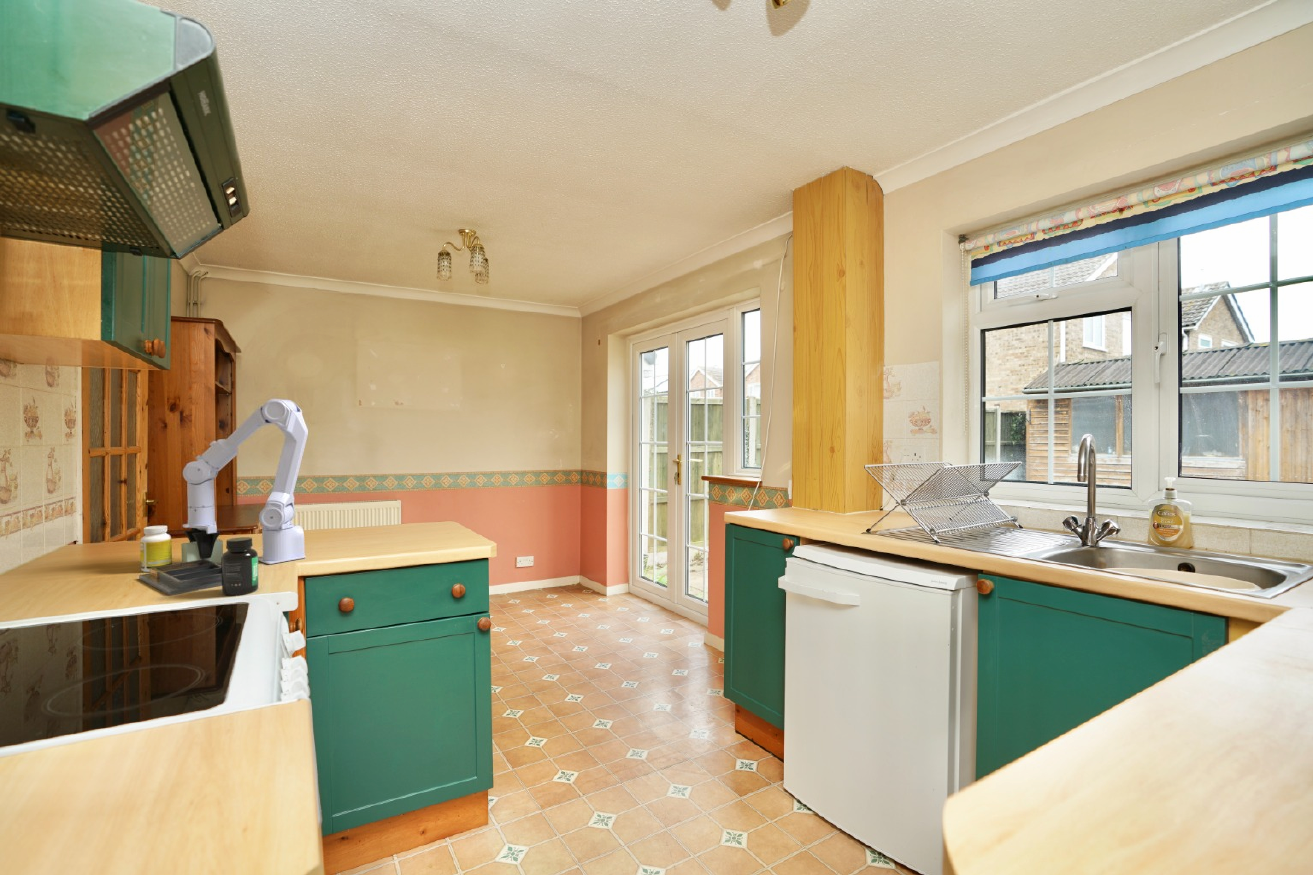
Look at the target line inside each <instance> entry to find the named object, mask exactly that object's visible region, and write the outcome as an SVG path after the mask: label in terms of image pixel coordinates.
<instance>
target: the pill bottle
mask: <svg viewBox="0 0 1313 875" xmlns="http://www.w3.org/2000/svg"><path fill="white" fill-rule="evenodd" d="M167 532H168V525H152V526H151V525H150V526H146V527H143V534H144V536H142V537H141V538H140V543H139V544H140V546H139V547H140V568H141V571H142V572H144V573H150V568H152V567H158V566H165V565H171V564H173V550H172V545H173V544H172V536H171V535H170V534H169V533H167Z"/></svg>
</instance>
